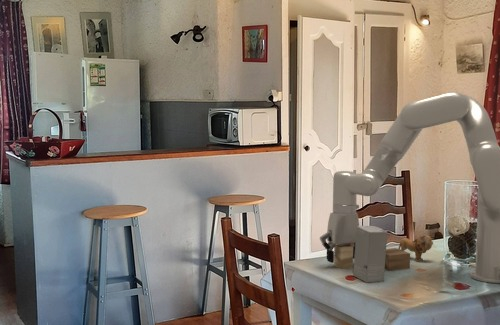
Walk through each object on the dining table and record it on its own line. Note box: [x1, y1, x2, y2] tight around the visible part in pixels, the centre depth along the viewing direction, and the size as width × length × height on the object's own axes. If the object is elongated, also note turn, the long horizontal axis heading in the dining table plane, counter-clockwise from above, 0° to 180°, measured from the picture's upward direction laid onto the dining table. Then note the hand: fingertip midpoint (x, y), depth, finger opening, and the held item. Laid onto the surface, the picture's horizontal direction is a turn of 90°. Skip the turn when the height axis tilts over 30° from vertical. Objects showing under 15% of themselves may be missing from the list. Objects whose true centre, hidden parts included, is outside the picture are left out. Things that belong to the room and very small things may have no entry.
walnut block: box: [384, 247, 411, 272], centre depth 198 cm, size 8×8×5 cm
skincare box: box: [352, 225, 389, 283], centre depth 184 cm, size 8×7×16 cm
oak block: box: [333, 244, 354, 270], centre depth 198 cm, size 4×4×7 cm
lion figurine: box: [397, 235, 434, 263], centre depth 208 cm, size 15×5×9 cm, turn 45°
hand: (343, 260), depth 198 cm, fingers open, 9 cm apart
